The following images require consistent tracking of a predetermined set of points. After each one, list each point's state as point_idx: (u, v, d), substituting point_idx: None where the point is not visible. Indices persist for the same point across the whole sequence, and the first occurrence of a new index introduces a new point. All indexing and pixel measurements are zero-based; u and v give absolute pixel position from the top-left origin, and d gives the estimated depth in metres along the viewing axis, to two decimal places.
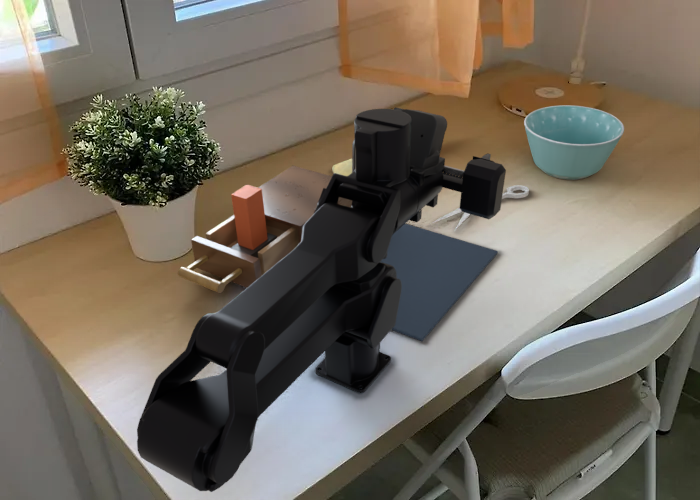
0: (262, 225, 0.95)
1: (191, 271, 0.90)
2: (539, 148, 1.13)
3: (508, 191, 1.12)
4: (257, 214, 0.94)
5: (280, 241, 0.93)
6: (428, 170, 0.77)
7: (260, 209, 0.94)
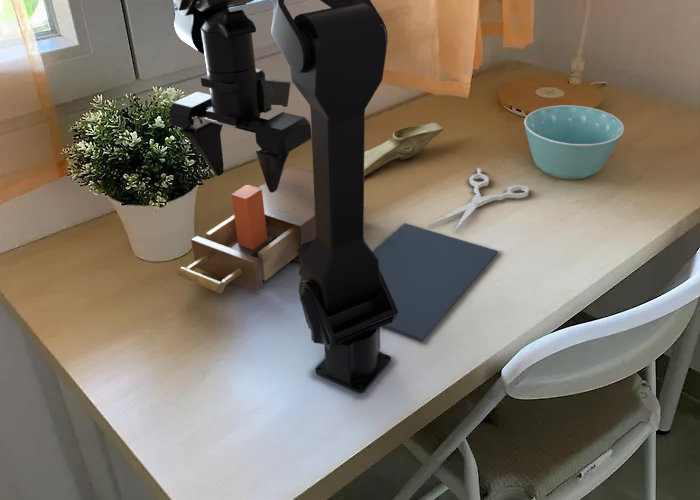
0: (262, 225, 0.95)
1: (191, 271, 0.90)
2: (539, 148, 1.13)
3: (508, 191, 1.12)
4: (257, 214, 0.94)
5: (280, 241, 0.93)
6: (265, 83, 0.85)
7: (260, 209, 0.94)
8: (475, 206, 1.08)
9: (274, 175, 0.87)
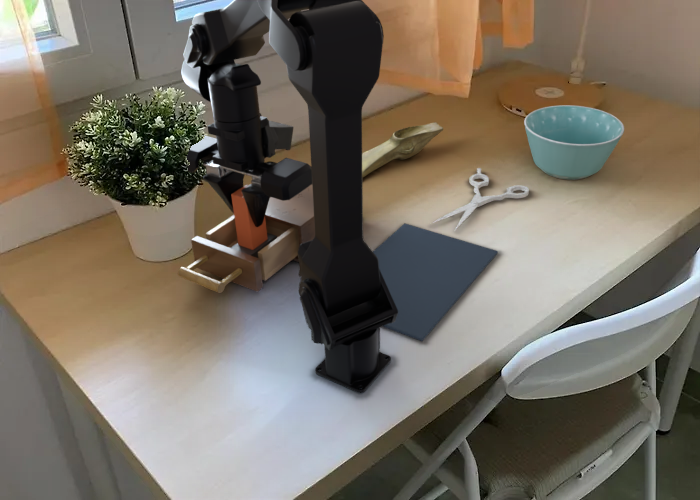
0: (262, 225, 0.95)
1: (191, 271, 0.90)
2: (539, 148, 1.13)
3: (508, 191, 1.12)
4: None
5: (280, 241, 0.93)
6: (269, 129, 0.89)
7: None
8: (475, 206, 1.08)
9: (259, 211, 0.92)
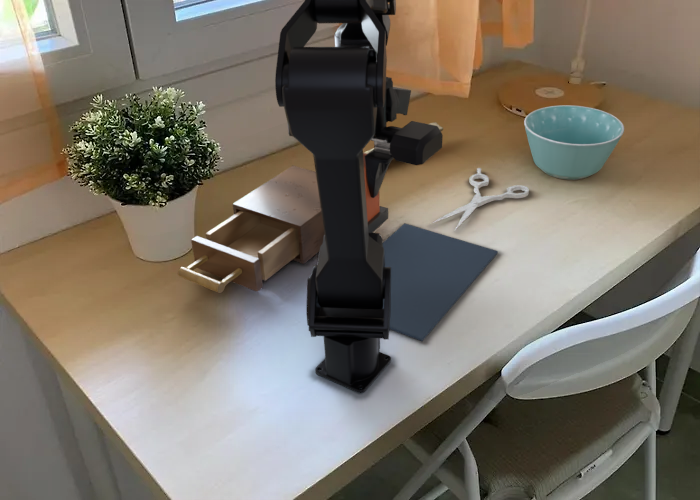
0: (376, 196, 0.89)
1: (191, 271, 0.90)
2: (539, 148, 1.13)
3: (508, 191, 1.12)
4: None
5: (280, 241, 0.93)
6: (392, 91, 0.83)
7: None
8: (475, 206, 1.08)
9: (378, 180, 0.86)
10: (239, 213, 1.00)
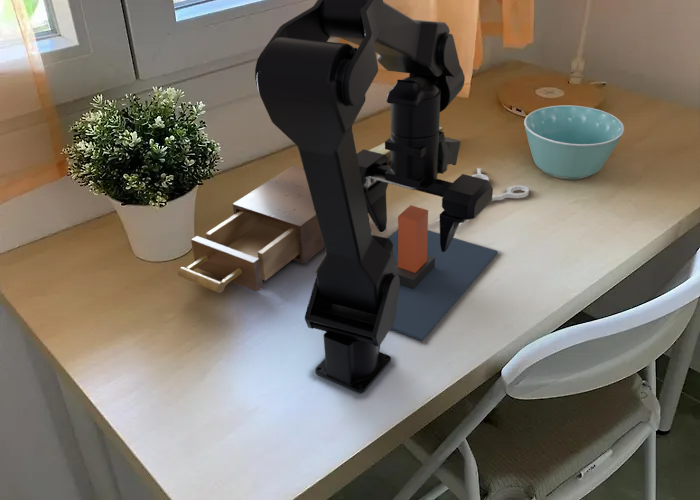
0: (424, 247, 0.92)
1: (191, 271, 0.90)
2: (539, 148, 1.13)
3: (508, 191, 1.12)
4: (422, 236, 0.90)
5: (280, 241, 0.93)
6: (444, 145, 0.85)
7: (425, 231, 0.90)
8: None
9: (450, 236, 0.87)
10: (239, 213, 1.00)
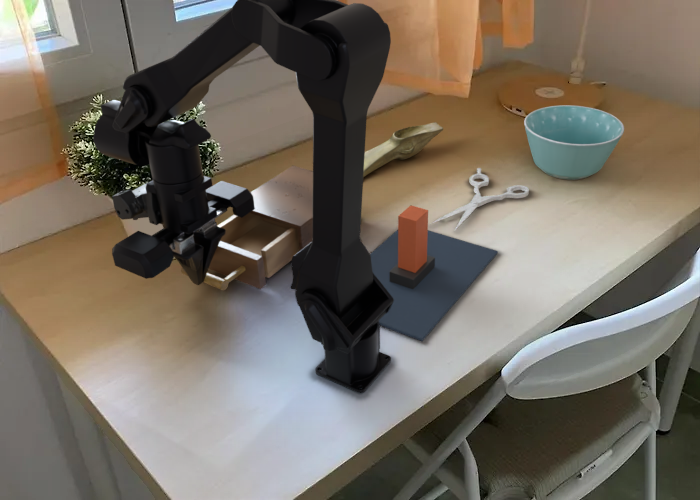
0: (424, 247, 0.92)
1: None
2: (539, 148, 1.13)
3: (508, 191, 1.12)
4: (422, 236, 0.90)
5: (283, 239, 0.94)
6: None
7: (425, 231, 0.90)
8: (475, 206, 1.08)
9: None
10: None
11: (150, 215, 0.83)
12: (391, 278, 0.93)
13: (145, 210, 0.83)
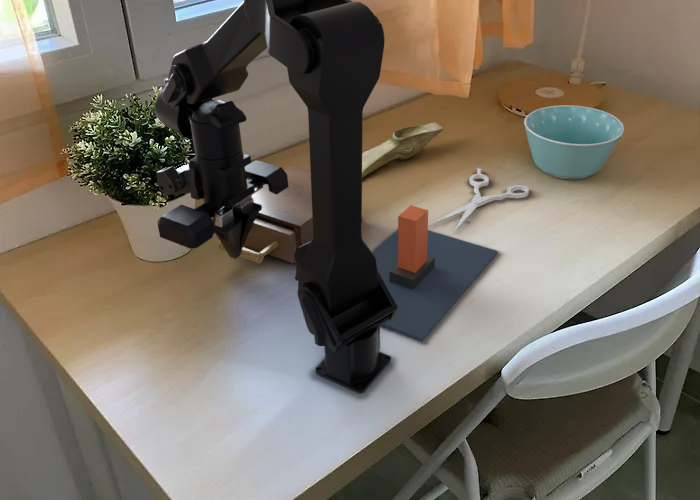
0: (424, 247, 0.92)
1: None
2: (539, 148, 1.13)
3: (508, 191, 1.12)
4: (422, 236, 0.90)
5: None
6: None
7: (425, 231, 0.90)
8: (475, 206, 1.08)
9: None
10: None
11: (192, 190, 0.88)
12: (391, 278, 0.93)
13: (187, 186, 0.88)
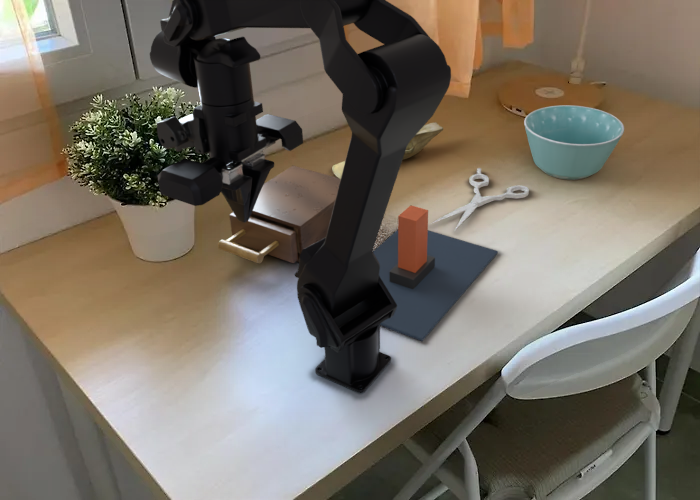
0: (424, 247, 0.92)
1: (231, 243, 0.95)
2: (539, 148, 1.13)
3: (508, 191, 1.12)
4: (422, 236, 0.90)
5: None
6: None
7: (425, 231, 0.90)
8: (475, 206, 1.08)
9: None
10: None
11: (196, 143, 0.78)
12: (391, 278, 0.93)
13: (191, 138, 0.78)
